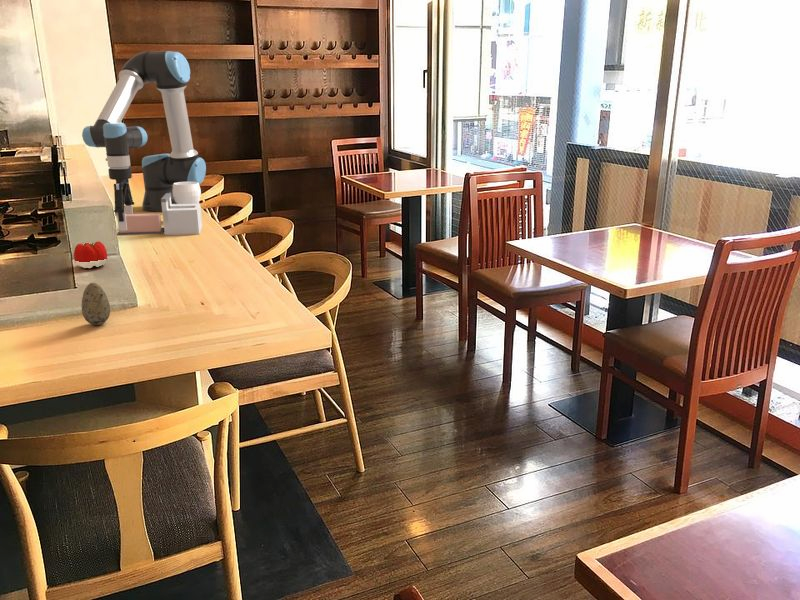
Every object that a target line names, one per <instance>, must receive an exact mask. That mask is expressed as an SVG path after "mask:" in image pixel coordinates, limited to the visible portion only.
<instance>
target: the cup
mask: <svg viewBox="0 0 800 600" xmlns="http://www.w3.org/2000/svg"><path fill="white" fill-rule="evenodd" d="M172 191H173V197H174V199H175V202H176V203H177V204H200V200H201V196H202V190H201V186H200V184H199V183H198V182H177V183H174V184H173V190H172Z"/></svg>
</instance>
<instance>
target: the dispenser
mask: <svg viewBox="0 0 800 600" xmlns="http://www.w3.org/2000/svg"><path fill="white" fill-rule="evenodd" d="M161 204H162V211H161V212H162V222H163V227H164V236H181V235H182V236H183V235H184V236H185V235H186V236H187V235H200V233H201V231H202V228H203V220H202V209H201V208H202V207H201V203H198V204H172V203H171V193H166V194H165V195H164V196H163V197H162V198H161Z"/></svg>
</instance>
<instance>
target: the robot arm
mask: <svg viewBox="0 0 800 600" xmlns="http://www.w3.org/2000/svg"><path fill="white" fill-rule="evenodd" d="M190 75H191V68H190V64H189V62H188V60H187V59H186V57H185V56H184V55H183V54H182V53H181V52H179V51H171V50H167V51H165V50H163V51H161V50H160V51H142V52H138V53H137V54H135V55H134V56H132V57H131V58H130V59H128V61H127V62H125V64H123V66H122V67H121V69H120V71H119V72H118V80H117V82H116V84H115V86H114V88H113V89H112V92H111V93H110V95H109V97H108V99H107V100H106V102H105V104H104V106H103V107H102V110H101V112H100V113H99V115H98V117H97V119H96V120H95V123H94V124H93V125H88V126H85V127H84V128H83V129H82V134H81V135H82V136H81V137H82V140H83V142H84V145H86V146H88V147H91V148H92V147H93V148H105V152H106V158H105V161H106V162H107V167H108V170H107V171H108V177H109V179H110V180H112V181H113V180H115V183H113V189H114V191H113V192H114V209H113V213H114V212H115V213H114V214H116V218H117V224H118V225H117V227H118V232H119V231H122V230H127V223H126V215H125V214H134V212H133V211H134V210H133V206H134V205H135V201H133V196H132V193H131V192H132V190H131V188H130V183H129V181H130V180H129V179H132V177H133V176H132V168H131V158H130V157H131V156H130V151H129V149H134V148H135V149H136V148H137V149H139V148H141V147H144V146H145V145H146V144H147V142H148V134H147V131H146V130H145V129H144V128H143V127H141V126H136V125H133V126H127V125H126V123H124V122H122V120H123V119H124V117H125V115H126V113H127V112H128V109H129V108H130V106H131V103H132V102H133V100H134V98H135V96H136V94H137V93H138V91H139V90H141V89H143V87H144V85H145V84H148V83H155V87H156V90H158V91H159V92H160V93H161V97H162V102H163V108H164V114H165V119H166V124H167V130H168V135H169V140H170V146H171V152H170V153H161V154H153V155H146V156H144V157H142V160H141V169H142V175H143V185H144V194H143V200H142V205H141V206H142V210H143V211H147V212H162V204H161V198H162V197H163V196H164V195H165V194H166V193H171V203H172V204H177V203H176V202H175V199H174V197H173V191H172V190H173V184H174V183H177V182H198V183H199V185H201V184H202V183H203V181H204V180H205V177H206V173H207V166H206V165H207V164H206V161H205V160H204V159H203V158H202V157H199V152H198V151H197V150H196V149H194V144H193V138H192V133H191V127H190V121H189V115H188V109H187V104H186V97H185V91H184V90H185V89H186V88H187V86H188V85H187V83H188V82H190V79H191V76H190Z"/></svg>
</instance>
